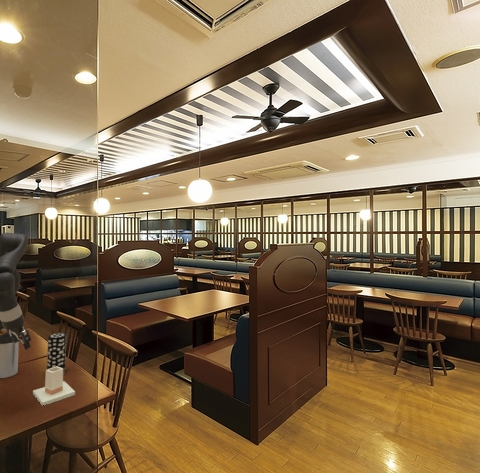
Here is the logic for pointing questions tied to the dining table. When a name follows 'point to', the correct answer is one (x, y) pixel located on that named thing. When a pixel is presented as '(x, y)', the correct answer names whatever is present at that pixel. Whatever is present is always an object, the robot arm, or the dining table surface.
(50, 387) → the sleeve
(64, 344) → the spotted tube
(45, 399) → the pin board
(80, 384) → the dining table surface
